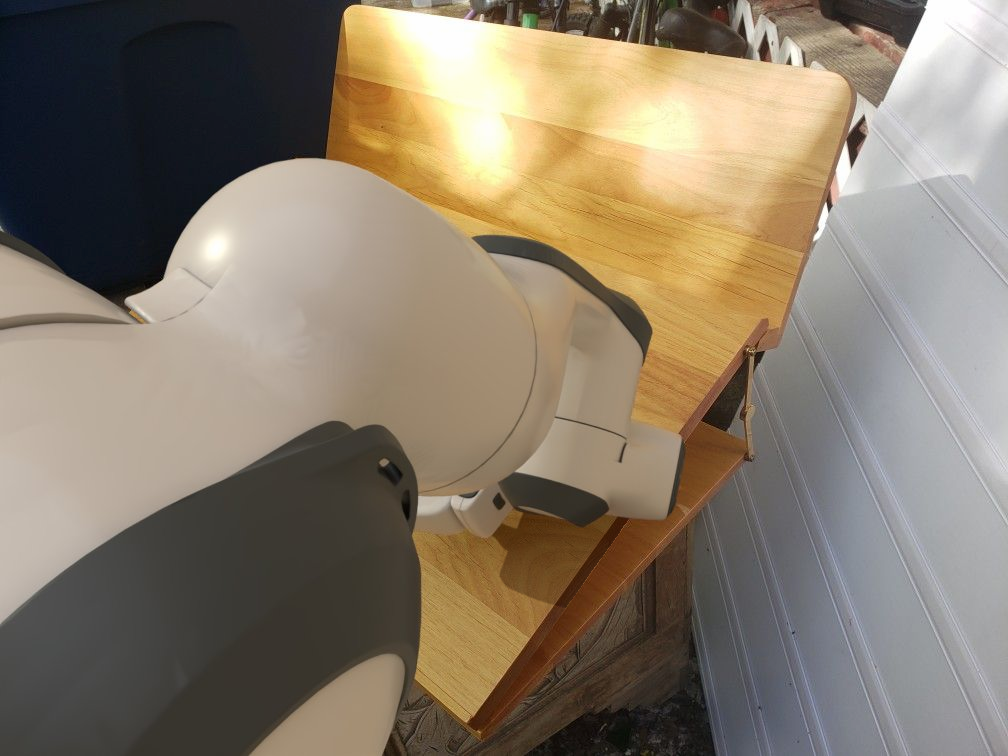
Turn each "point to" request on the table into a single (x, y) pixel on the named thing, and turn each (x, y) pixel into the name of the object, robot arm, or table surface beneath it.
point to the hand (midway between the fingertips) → (390, 419)
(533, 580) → the table surface
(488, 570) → the table surface
